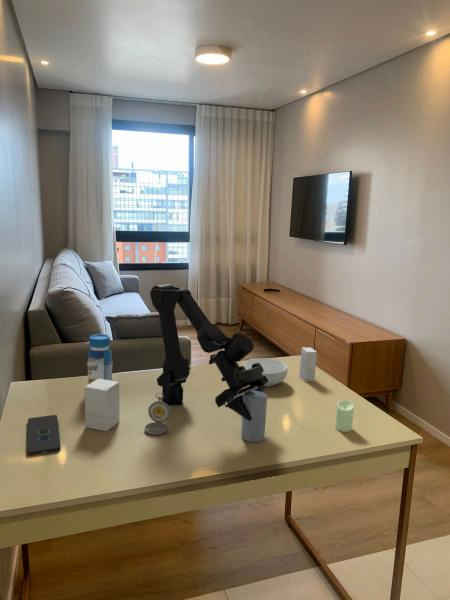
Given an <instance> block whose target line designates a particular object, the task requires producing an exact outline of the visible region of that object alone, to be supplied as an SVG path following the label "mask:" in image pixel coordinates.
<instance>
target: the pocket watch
mask: <svg viewBox="0 0 450 600" xmlns="http://www.w3.org/2000/svg"><path fill="white" fill-rule="evenodd" d="M157 395H161V396H157ZM162 395H163V394H162V392H158V393H156V394H155V398H156V399H157V400H156V401H153V402H152V403H151V404H150V405H149V407H148V410H147V411H148V416H149V418H150V419H151V420H152V421H153V422H149V423H148V424H146V425H145V427H144V432H146V433H147V434H149V435H153V436H158V435H164V434H165V433H166V432H167V431H168V429H169V427H168V425H167V424H166V423H165V422H167V421H168V420H169V419H170V417H171V415H172V414H171V408H170V405H167V404H166V403H165V402H162V399H163V398H164V395H163V398H161V397H162Z"/></svg>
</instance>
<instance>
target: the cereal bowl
mask: <svg viewBox="0 0 450 600" xmlns="http://www.w3.org/2000/svg"><path fill="white" fill-rule="evenodd" d="M255 363H260V365H261V366H262V368H263V369H264V371H263V373H261V374H262V375H264V376H266V378H267V379H268V381H269V382H267V383H266V384H265V387H272V386H274V385H277V384H279V383H281V382H283V381H284V380H285V379H286V377H287V376H288V369H289V368H288V364H287V363H285V362H283V361H281V360H279V359H278V360H277V359H274V358H263V357H262V358H259V357H258V358H250V359H248V360H246V361H244V363H243V366H244V367H245V368H246V369H250V368H252V364H255Z"/></svg>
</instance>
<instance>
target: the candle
mask: <svg viewBox="0 0 450 600" xmlns="http://www.w3.org/2000/svg"><path fill="white" fill-rule="evenodd" d="M354 411H355V405H354V403H353V401H350V400H348V399H341V400H339V401H337V403H336V413H335V423H334V428H335V429H336V430H337V431H339V432H342V433H347V432H351V431H352V430H353V422H354V421H353V420H354Z"/></svg>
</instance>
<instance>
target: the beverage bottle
mask: <svg viewBox="0 0 450 600" xmlns="http://www.w3.org/2000/svg"><path fill="white" fill-rule="evenodd" d="M110 346H111V336H110V335H108V334H103V333H97V334H91V336H90V335H89V347H90V349H89V350H88V353H87V359H88V360H87V363H86V367H87V385H89V384H90V383H92V382H94V381H95V380H97V379H104V380H109V381H113V365H114V364H113V363H114V361H113V359H112V358H113V353H112V351H111V349H110Z"/></svg>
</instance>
